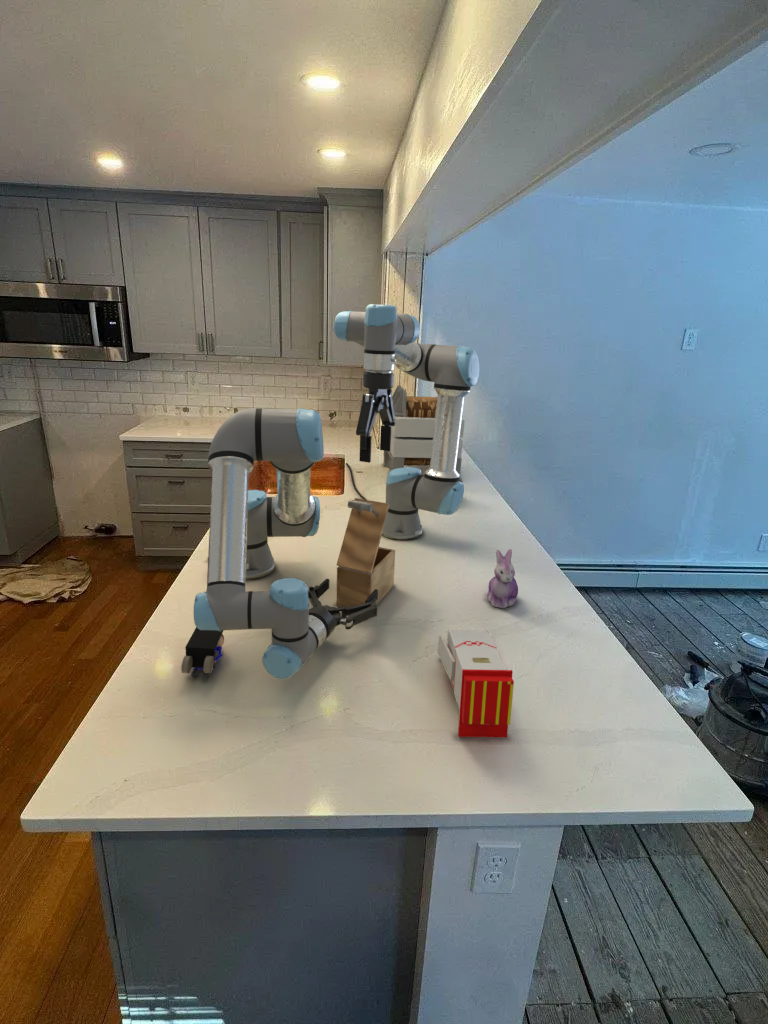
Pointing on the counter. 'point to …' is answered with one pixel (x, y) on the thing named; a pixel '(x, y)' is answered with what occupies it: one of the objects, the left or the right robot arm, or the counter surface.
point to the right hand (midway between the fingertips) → (375, 455)
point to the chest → (366, 580)
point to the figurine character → (202, 651)
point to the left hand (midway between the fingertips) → (351, 588)
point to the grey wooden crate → (414, 431)
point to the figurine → (503, 582)
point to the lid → (362, 534)
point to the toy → (478, 682)
